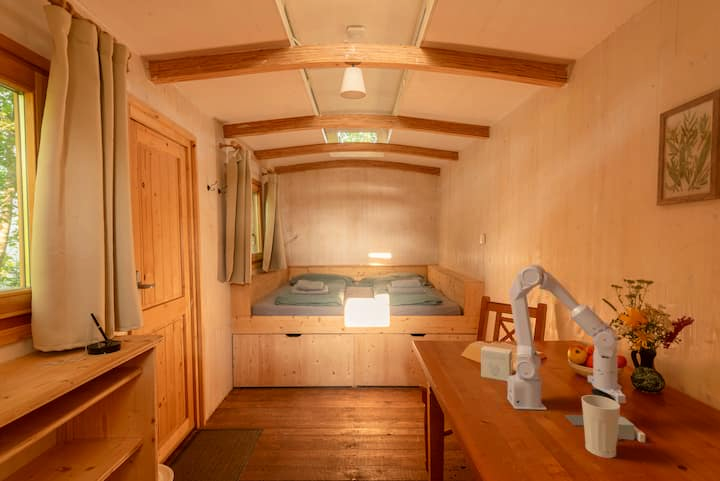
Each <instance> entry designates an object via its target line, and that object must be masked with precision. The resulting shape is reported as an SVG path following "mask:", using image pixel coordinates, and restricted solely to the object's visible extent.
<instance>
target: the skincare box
mask: <svg viewBox="0 0 720 481" xmlns="http://www.w3.org/2000/svg"><path fill="white" fill-rule="evenodd" d="M511 360H512V361H513V349H509V348H508V349H507V348H503V347H502V348H501V347H495V346H488V345H484V346H483V347H482V348H481V349H480V371H481V372H480V377H482V378H486V379H492V380H498V381H504V382H507V383H508V377H509V376H512V372H511Z"/></svg>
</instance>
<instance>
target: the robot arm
mask: <svg viewBox="0 0 720 481" xmlns="http://www.w3.org/2000/svg"><path fill="white" fill-rule="evenodd" d="M537 286H539V287H538V288H539V290H543V291H548V292H550V293H551V294H552V295H553V296H554V297H555V298H556V299H558V301H559V302H560V303H562V304H563V306H565V307H566V308H567V309H568V310H569V312H570V319H571V320H573V321H574V322H575V323H576V324H577V325H578V327H580V328H581V329H582V331H583V332H585V334H586V335H588V336H590V337H591V338H592V339H591V340H592V343H593V345H594V350H593V352H592V353H593V356H592V358H593V359H592V360H593V362H592V363H593V364H592V365H593V366H592V369H593V371H592V373H593V375H591V374H590V375H589V374H588V375H587V382H588V383H590V384H591V385H592V387H593V388H591V393H592V395H597V396H602V397H606V398H609V399H612V400H614V401H616V402H617V403H618V404H626V399H627V398H626V395H625V394H624V393H623V392H622V390H621V389H622V385H620V384H619V383H618V381H619V380H618V370H619V369H618V354H617V352H618V348H617V347H618V345H619V341H618V335H617V333H616V331H615V330H614V328H613V327H612V326H610V325H609V323H608V322H607V321H604V320H603V319H602V318H601V317H600V316H599V315H598V314H596V309H595V308H594V307H591V308H590V307H589V306H588V305H585V304H580V303H579V302H578V301H577V299H575V297H573V295H572V294H571V293H570V292H569V291H568V290H567V289H566V288H565V287H564V285H563V284H561V283H560V282H559V280H558V279H556V278H555V277H554V275H553V274H551V273H549V271H546V270H545V269H544V267H543V266H541V265H539V264H531V265H528V266H526V267H524V268H522V269H521V270H520V271H519V272H517V274H516V275H515V278H514V280H513V283H512V284H511V285H510V288H509V291H508V292H509V300H510V307H511V314H512V320H513V326H514V327H513V328H514V332H515V340H516V361H515V365H514V370H515V374H513V375H512V376H509V377H508V382H507V397H506V399H507V400H508V402H509V403H510V404H511V405H512V407H513V408H514V409H515V410H531V411H532V410H538V411H539V410H540V411H547V407H546V406H545V405H544V404H543V403H542V375H541V373H540V371H539V369H540V368H541V366H542V360H541V357H540V356H539V354H538V352H537V348H536V345H535V343H534V335H533V331H532V324H531V318H530V317H531V316H530V311H529V310H530V309H529V304H528V298H527V295H528V294H529V293H530V292H531V291H532V290H533V288H535V287H537Z"/></svg>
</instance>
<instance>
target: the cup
mask: <svg viewBox="0 0 720 481" xmlns="http://www.w3.org/2000/svg"><path fill="white" fill-rule="evenodd" d="M581 407H582V415H583V419H584V426H583V428H584V442H585V446H584V447H585V449H586V450H587V451H588V452H590V453H591V454H593V455H595V456H598V457H600V458H605V459H613V458H615V457H616V456H617V442H618V439H617V432H618V420H619V415H620V413H621V412H620V410H621V404H620V403H617V402H616V401H614V400H612V399H609V398H606V397H602V396H597V395H593V394H586V395H583V396H581Z"/></svg>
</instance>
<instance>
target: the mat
mask: <svg viewBox="0 0 720 481" xmlns="http://www.w3.org/2000/svg"><path fill="white" fill-rule="evenodd" d="M564 417H565V419H567V420H568V421H569V422H570V423H571V424H572V425H573V426H574V427H584V419H583V414H564Z"/></svg>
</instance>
